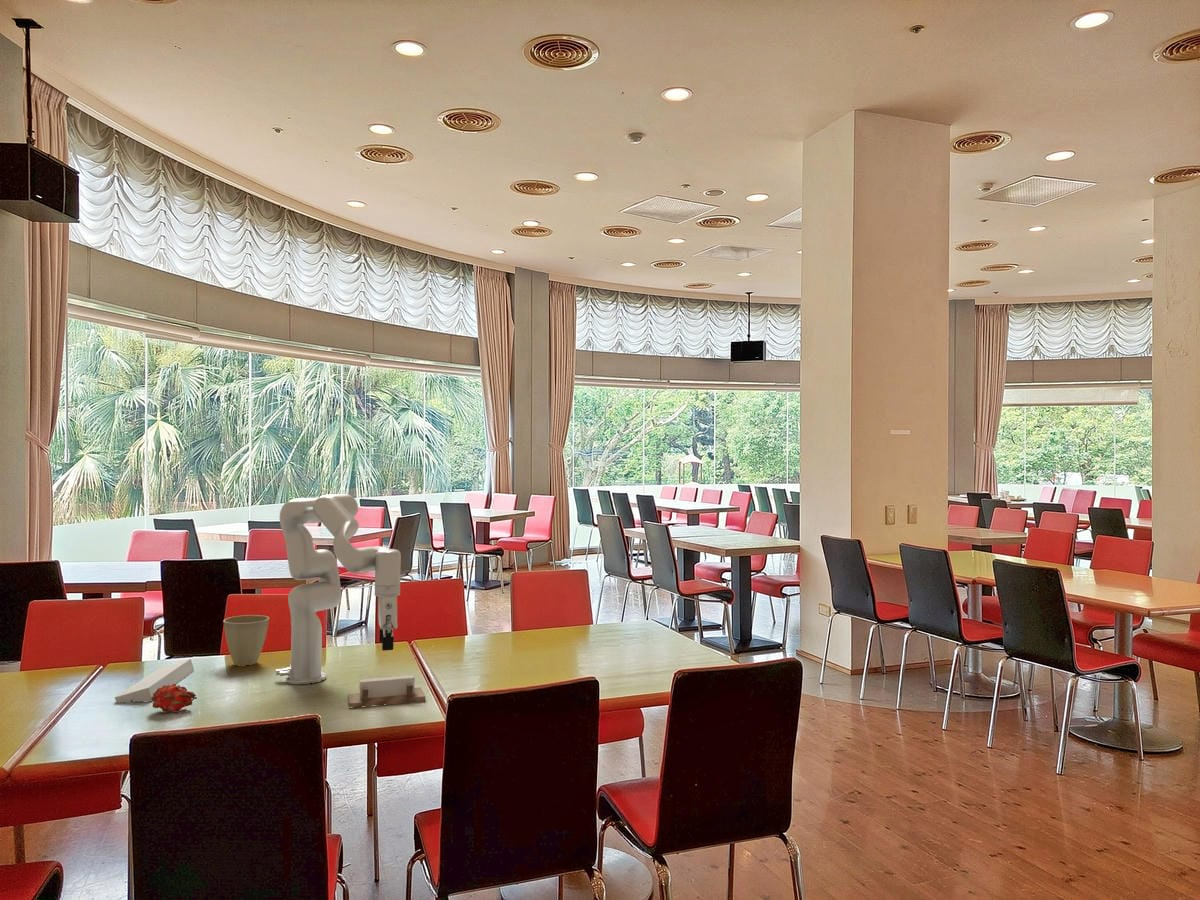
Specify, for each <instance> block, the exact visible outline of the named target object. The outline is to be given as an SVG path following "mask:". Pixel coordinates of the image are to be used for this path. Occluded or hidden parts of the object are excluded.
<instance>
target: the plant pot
mask: <svg viewBox="0 0 1200 900" xmlns="http://www.w3.org/2000/svg"><path fill="white" fill-rule="evenodd" d="M269 623H270V617H269V616H267V615H260V614H259V615H258V614H257V615H256V614H250V615H249V614H248V615H236V616H231V617H226V618H225V619H223V628H224V635H225V639H226V644H227V647H228V650H229V654H230V657H231V660H232V663H233V665H234V666H235V665H240V666H239V667H246V666H245V665H250V666H254V665H256V664H257V663H258V660H259V658H260V656H261V653H262V651H263V647H264V643H265V642H266V641H265V640H266V637H267V633H268V627H269ZM255 663H256V664H255ZM253 664H254V665H253ZM242 665H244V666H242Z"/></svg>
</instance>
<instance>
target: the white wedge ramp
mask: <svg viewBox="0 0 1200 900" xmlns="http://www.w3.org/2000/svg"><path fill="white" fill-rule="evenodd" d="M193 671H194V672H195V668H194V665H193V662H192V659H191V658H188V659H184V660H182V661H179V662H174V663H171V664H167V665H165V666H161V667H159V668H158V669H156V670H155V671H152V673H150V674H148V675H147V676H146V677H143V678H142V679H141V680H139V681H138V682H136V683H134V684H133V685H132V686H130V687H128V688H127V689H125V690H124V691H122V692H121V693H119V694H117V695H116V696H114V699H115V702H116V703H117V702H121V703H123V702H131V701H132V702H131V703H135V702H140V701H152V699H151V698H152V697H153V694H154V693H155V692H156V691H157V689H158V688H162V687H163V685H169V686H172V685H173V684H176V685H178V684H179V683H180V682H182V681H183V680H184V679H185V677H186V676H187V677H188V676H190V675H191V674H193ZM189 674H190V675H189ZM187 677H186V678H187ZM183 678H184V679H183ZM182 679H183V680H182ZM178 682H179V683H178Z"/></svg>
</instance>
